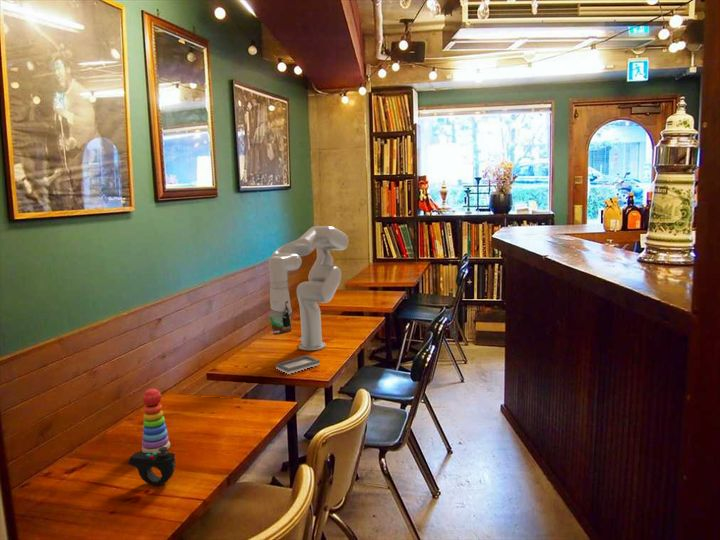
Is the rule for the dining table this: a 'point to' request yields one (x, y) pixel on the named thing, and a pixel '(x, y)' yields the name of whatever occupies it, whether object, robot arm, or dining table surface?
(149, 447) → the stacking toy
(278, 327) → the food container
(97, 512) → the dining table surface
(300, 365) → the framed board
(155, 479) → the controller
